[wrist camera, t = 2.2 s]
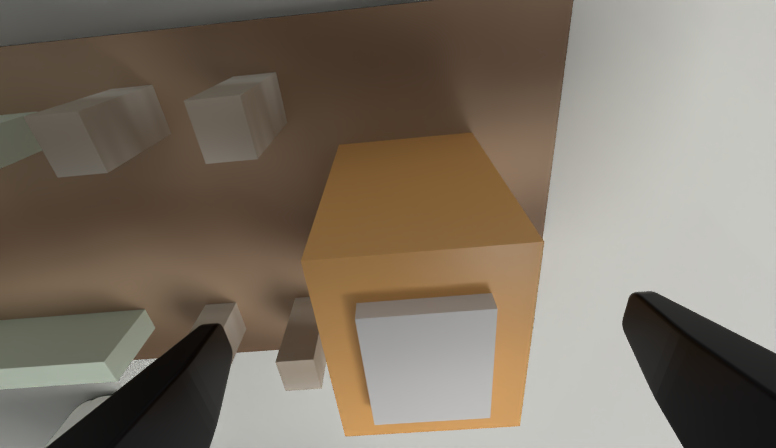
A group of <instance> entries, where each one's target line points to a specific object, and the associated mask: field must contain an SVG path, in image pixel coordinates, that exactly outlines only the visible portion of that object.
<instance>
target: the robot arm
mask: <svg viewBox="0 0 776 448" xmlns="http://www.w3.org/2000/svg"><path fill="white" fill-rule="evenodd" d="M622 325H623V330H624V333H625V335H626V337H627V339H628V342H629V344H630V346H631V348H632V350H633V352H634V355H635V357H636V359H637V361H638V363H639V366H640V368H641V370H642V372H643V374H644V376H645V379H646V381H647V383H648V385H649V387H650V389H651V391H652V393H653V395H654V397H655V399H656V401H657V403H658V405H659V406H660V408H661V410H662V412H663V413H664V415H665V417H666V418H667V420H668V422H669V424H670V425H671V427H672V429H673V430H674V432H675V434H676V435H677V437H678V439H679V441H680V442H681V444H682V446H683V447H684V448H776V353H774V352H772V351H770V350H768V349H766V348H764V347H762V346H760V345H758V344H756V343H754V342H752V341H750V340H748V339H746V338H744V337H742V336H740V335H738V334H736V333H734V332H732V331H731V330H729V329H727V328H725V327H723V326H721V325H719V324H717V323H715V322H713V321H711V320H709V319H707V318H705V317H703V316H701V315H699V314H697V313H695V312H693V311H691V310H689V309H687V308H685V307H683V306H681V305H679V304H677V303H675V302H673V301H671V300H670V299H668V298H666V297H664V296H662V295H660V294H658V293H655V292H652V291H646V292H635V293H632V294H631V295H630V297H629V299H628V303H627V306H626V310H625V313H624V317H623V321H622ZM232 356H233V351H232V347H231V344H230V342H229V340H228V337H227V335H226V333H225V330H224V328H223V326H222V325H221V324H220V323H208V324H202V325H200V326H198V327H197V328H196V329H194V330H193V331H192V332H191V333H189V334H188V335H187V336H186V337H184V338H183V339H182V340H180V341H179V342H178V343H177V344H175V345H174V346H173V347H172V348H170V349H169V350H168V351H167V352H165V353H164V354H163V355H162V356H160V357H159V358H158V359H157V360H155V361H154V362H153V363H152V364H150V365H149V366H148V367H147V368H145V369H144V370H143V371H141V372H140V373H139V374H138V375H136V376H135V377H134V378H133V379H131V380H130V381H129V382H128V383H126V384H125V385H124V386H123V387H121V388H120V389H119V390H118V391H116V392H115V393H114V394H113V395H111V396H110V397H109V398H108V399H106V400H105V401H104V402H102V403H101V404H100V405H99V406H97V407H96V408H95V409H94V410H92V411H91V412H90V413H89V414H87V415H86V416H85V417H84V418H82V419H81V420H80V421H79V422H77V423H76V424H75V425H74V426H72V427H71V428H70V429H68V430H67V431H66V432H65V433H63V434H62V435H61V436H60V437H58V438H57V439H56V440H55V441H53V442H52V443H51V444H50V445H48V446H47V447H46V448H209V447H210V444H211V441H212V438H213V435H214V432H215V429H216V426H217V422H218V418H219V415H220V410H221V406H222V401H223V397H224V393H225V388H226V384H227V380H228V375H229V371H230V366H231V362H232Z"/></svg>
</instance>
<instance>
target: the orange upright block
mask: <svg viewBox="0 0 776 448" xmlns="http://www.w3.org/2000/svg"><path fill="white" fill-rule="evenodd" d="M543 247H544V241H543V239H542V238H541V236H540V235H539V233H538V232H537V230H536V229H535V227H534V225H533V224H532V222H531V221H530V219H529V218H528V216H527V215H526V213H525V212H524V210H523V209H522V207H521V206H520V204H519V203H518V201H517V200H516V198H515V197H514V195H513V194H512V192H511V191H510V189H509V188H508V186H507V185H506V183H505V182H504V180H503V179H502V177H501V176H500V174H499V173H498V171H497V169H496V168H495V166H494V165H493V163H492V162H491V160H490V159H489V157H488V156H487V154H486V153H485V151H484V150H483V148H482V147H481V145H480V144H479V142H478V141H477V139H476V138H475V136H474V135H473V133H461V134H450V135H439V136H429V137H418V138H407V139H396V140H385V141H375V142H364V143H353V144H342V145H339V146H338V149H337V152H336V155H335V158H334V161H333V164H332V168H331V171H330V174H329V177H328V180H327V183H326V186H325V189H324V192H323V195H322V198H321V201H320V204H319V207H318V210H317V213H316V216H315V219H314V222H313V225H312V228H311V231H310V234H309V237H308V241H307V244H306V247H305V250H304V253H303V256H302V259H301V264H302V268H303V272H304V276H305V280H306V284H307V288H308V292H309V296H310V300H311V303H312V307H313V311H314V315H315V319H316V323H317V327H318V331H319V335H320V339H321V343H322V347H323V351H324V354H325V358H326V362H327V366H328V370H329V374H330V378H331V382H332V386H333V390H334V394H335V398H336V402H337V406H338V409H339V413H340V417H341V421H342V425H343V429H344V433H345V436H361V435H377V434H394V433H411V432H428V431H444V430H461V429H478V428H495V427H512V426H520V420H521V413H522V405H523V398H524V390H525V383H526V375H527V368H528V360H529V353H530V345H531V337H532V330H533V322H534V315H535V307H536V300H537V292H538V285H539V277H540V270H541V262H542V255H543Z"/></svg>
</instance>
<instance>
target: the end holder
mask: <svg viewBox="0 0 776 448" xmlns="http://www.w3.org/2000/svg"><path fill="white" fill-rule="evenodd" d="M33 113H37V112H27V113H17V114H7V115H0V169H1V168H3V167H5V166H8V165H10V164H12V163H15V162H17V161H19V160H22V159H24V158H26V157H29V156H31V155H33V154H36V153H38V152H40V151H42V149H41V147H40V145H39V144H38V142H37V140H36V138H35V137H34V135H33V133H32V131H31V130H30V128H29V126H28V124H27V123H26V121H25V119H24V116H27V115H30V114H33ZM154 329H155V326H154V325H153V323H152V321H151V319H150V317H149V315H148V314H147V312H146V310H145V309H143V310H129V311H116V312H103V313H90V314H77V315H63V316H50V317H37V318H24V319H10V320H0V390H1V389H16V388H30V387H45V386H60V385H75V384H90V383H104V382H118V380H119V379H120V377H121V376H122V375H123V373H124V372H125V370H126V369H127V368H128V366H129V365H130V363H131V362H132V360H133V359H134V358H135V356H136V355H137V353H138V352H139V351H140V349H141V348H142V346H143V345H144V343H145V342H146V341H147V339H148V338H149V336H150V335H151V334H152V332H153V331H154Z"/></svg>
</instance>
